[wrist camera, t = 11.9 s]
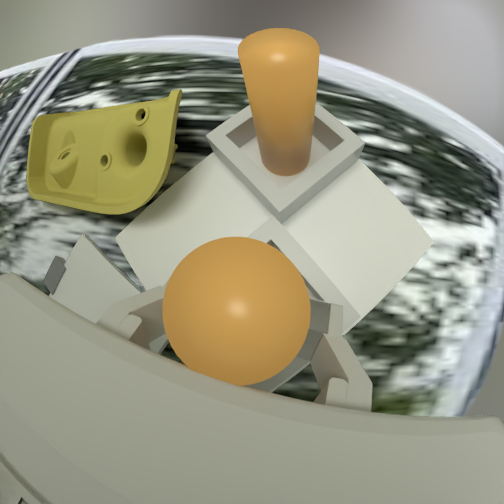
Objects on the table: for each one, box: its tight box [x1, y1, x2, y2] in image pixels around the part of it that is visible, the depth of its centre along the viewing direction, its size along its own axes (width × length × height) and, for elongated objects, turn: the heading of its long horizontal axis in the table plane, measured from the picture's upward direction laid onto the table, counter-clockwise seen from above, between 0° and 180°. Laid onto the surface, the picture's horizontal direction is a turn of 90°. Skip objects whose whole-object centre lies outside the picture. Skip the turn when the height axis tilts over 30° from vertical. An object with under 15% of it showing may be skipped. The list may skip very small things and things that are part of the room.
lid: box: [43, 234, 169, 354], centre depth 19 cm, size 14×10×1 cm
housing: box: [115, 28, 434, 393], centre depth 14 cm, size 16×18×11 cm
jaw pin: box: [162, 237, 311, 386], centre depth 11 cm, size 4×4×10 cm
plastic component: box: [26, 90, 182, 214], centre depth 21 cm, size 20×7×10 cm
